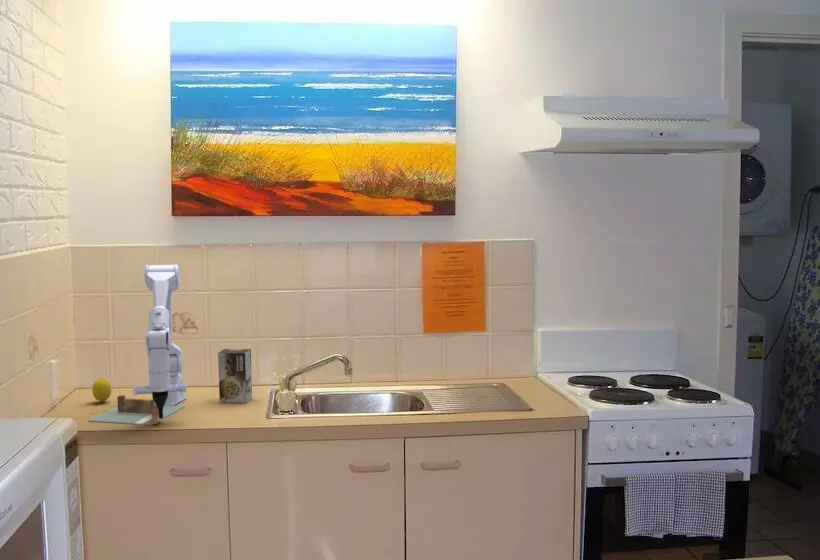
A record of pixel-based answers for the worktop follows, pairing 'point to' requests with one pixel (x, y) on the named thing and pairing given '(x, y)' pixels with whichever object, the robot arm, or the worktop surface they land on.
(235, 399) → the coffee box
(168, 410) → the card
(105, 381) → the lemon
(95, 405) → the worktop surface
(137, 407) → the fixed fence section
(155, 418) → the hinged fence panel
